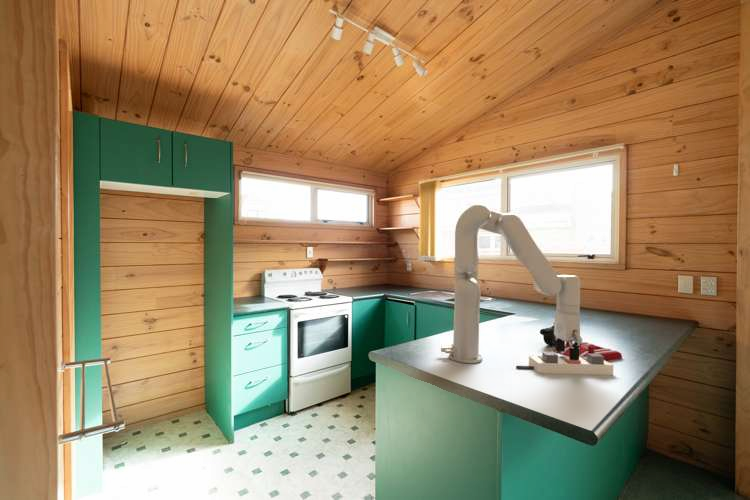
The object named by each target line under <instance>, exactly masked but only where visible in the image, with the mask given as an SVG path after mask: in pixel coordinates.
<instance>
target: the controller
mask: <svg viewBox="0 0 750 500" xmlns="http://www.w3.org/2000/svg"><path fill="white" fill-rule="evenodd" d="M552 323H553V325H552V326H550V327H545V328H541V329H540V331H539V334H540V335H541V336H543V342H544V343H545V345H547V346H549V347H556V341H557V340H555V337H556V336H555V335H554V324H555V322H552Z"/></svg>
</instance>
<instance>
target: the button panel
mask: <svg viewBox="0 0 750 500" xmlns="http://www.w3.org/2000/svg"><path fill="white" fill-rule="evenodd" d="M565 358H569V357H568V356H564V355H560V356H559V355H558V363H545V362H544V361H542V355H528V365H515V369H517V370H518V369H519V370H521V369H522V370H534V371H535V372H536V373H537V374H562V375H563V374H565V375H566V374H567V375H595V376H596V375H597V376H599V375H601V376H614V364H612V363H610V362H608V361H605V360H604V365H603V364H591V363H589V362H587V357H579V360H580V361H581V364H569V363H567V362H566V361H565Z"/></svg>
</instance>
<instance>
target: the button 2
mask: <svg viewBox="0 0 750 500" xmlns="http://www.w3.org/2000/svg"><path fill="white" fill-rule="evenodd" d="M565 361H566V362H567V363H569V364H581V361H580V360H570V359H569V358H565Z"/></svg>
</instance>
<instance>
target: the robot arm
mask: <svg viewBox="0 0 750 500" xmlns="http://www.w3.org/2000/svg"><path fill="white" fill-rule="evenodd" d="M454 230H455V231H454V258H453V267H454V271H453V272H454V295H453V297H454V306H453V307H454V309H453V341H452V343H453V344H452V343H451V344H450V345H451V346H449V347H447V346H441V347H440V352H441V353H445V354H448V357H449V359H450V360H452V361H454V362H457V363H463V364H477V363H481V362H482V361H483V356H482V355H481V354H480V353H479V343H480V341H479V340H480V339H479V338H480V311H481V310H480V307H481V294H482V293H481V291H482V290H481V286H480V284H479V264H480V261H479V252H478V250H479V249H478V242H479V241H478V236H479V235H478V234H479V230H484V231H487V232H490V233H493V234H496V235H501V236H502V237H503V238H504V240H505V242H506V243H507V245H508V247H509V248H510V250H511V252H512V253H513V255H514V257H515V258H516V259H517V260H518V262H520V264H522V265H523V266H524V267H525V269H527V271H528V272H529V274H530V275H531V277H532V279H533V281H532V285H533V287H534V289H535V290H536V291H537V292H539V293H541V294H543V295H544V296H547V297H554V296H556V309H555V310H556V311H555V312H556V313H555V316H554V317H555V318H554V323H555V324H553V325H554V335H555V336H556V337H555V340H557V341H556V346H555V349H556V351H557V352H564V351H565V344H566V342H568V341H569V344H570V347H571V348H569V359H570V360H579V349H580V346H581V343H582V342H583V338H582V336H581V324H580V314H581V312H580V311H581V310H580V307H581V304H580V303H581V279H580V277H579V276H578V275H572V274H571V275H570V274H560V275H559V274H557V272H556V271H555V269H554V268H553V266H552V264H551V263H550V261H549V260H548V259H547V257H546V256H545V255H544V253H543V252H542V250H541V248H539V246H538V245H537V243H536V242H535V240H534V239H533V237H532V236H531V234H530V232H529V231H528V228H527V227H526V226H525V224H524V222H523V221H522V219H521V218H520V216H519V215H517V214H516V213H513V212H507V213H502V212H499V211H495V210H491V209H490V208H489V206H487V205H486V204H484V203H477V204H474V205H471V206H470V207H468V208H467V209H465V211H463V212H462V213H461V215H459V218H458V220H457V222H456V225H455V229H454ZM573 343H574V344H573Z"/></svg>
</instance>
